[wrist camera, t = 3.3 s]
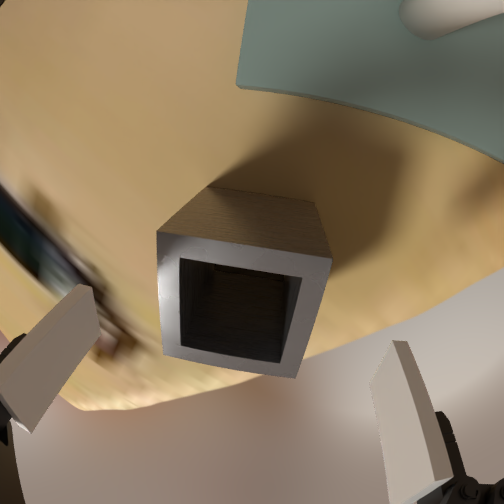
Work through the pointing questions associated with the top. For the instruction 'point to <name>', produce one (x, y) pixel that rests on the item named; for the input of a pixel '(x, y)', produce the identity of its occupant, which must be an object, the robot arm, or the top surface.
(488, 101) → the keeper
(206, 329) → the grey square sleeve
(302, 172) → the top surface
